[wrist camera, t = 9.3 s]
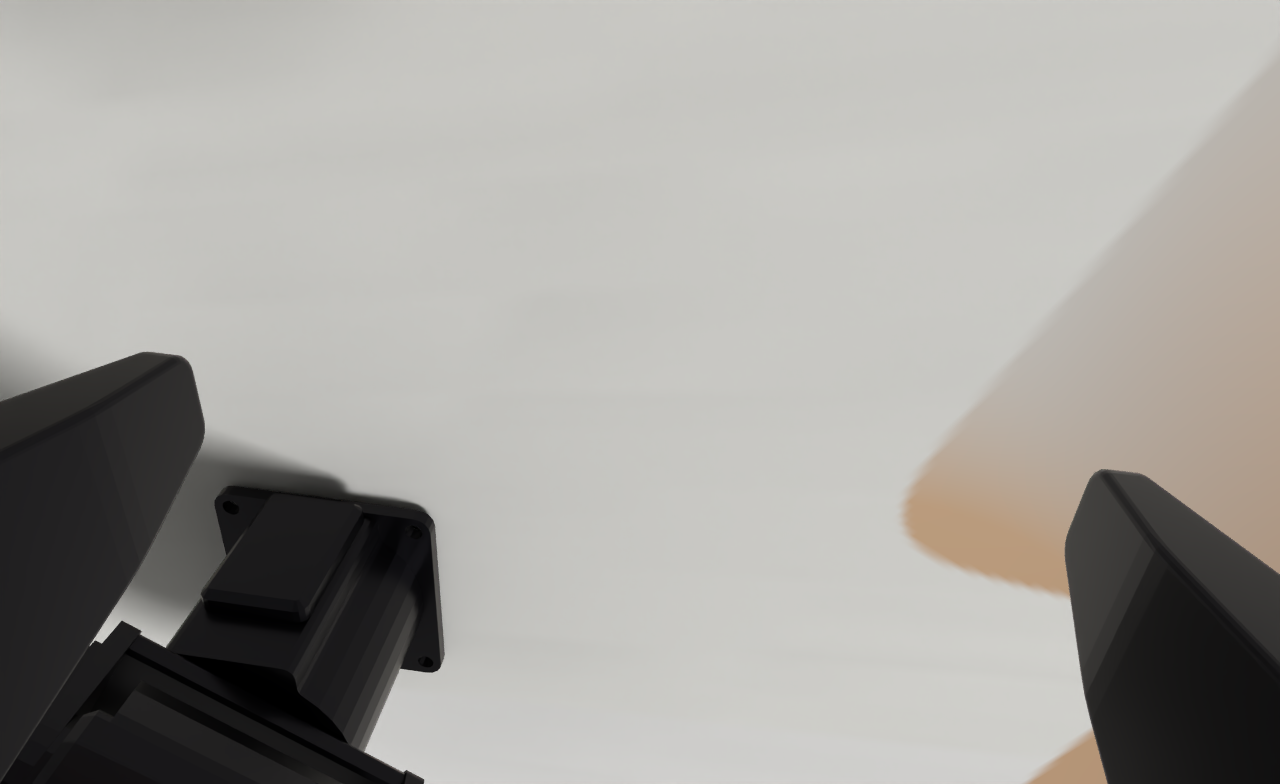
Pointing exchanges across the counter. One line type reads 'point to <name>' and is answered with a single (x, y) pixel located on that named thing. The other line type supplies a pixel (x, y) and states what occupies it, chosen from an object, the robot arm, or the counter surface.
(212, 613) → the robot arm
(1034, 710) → the counter surface
